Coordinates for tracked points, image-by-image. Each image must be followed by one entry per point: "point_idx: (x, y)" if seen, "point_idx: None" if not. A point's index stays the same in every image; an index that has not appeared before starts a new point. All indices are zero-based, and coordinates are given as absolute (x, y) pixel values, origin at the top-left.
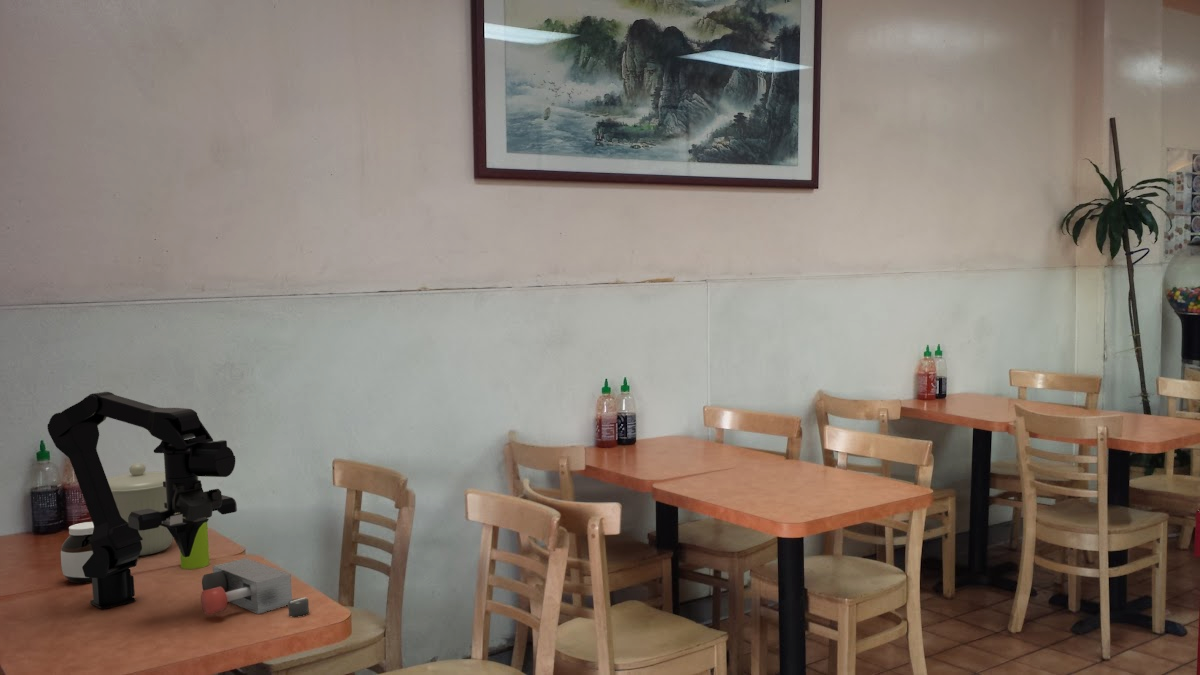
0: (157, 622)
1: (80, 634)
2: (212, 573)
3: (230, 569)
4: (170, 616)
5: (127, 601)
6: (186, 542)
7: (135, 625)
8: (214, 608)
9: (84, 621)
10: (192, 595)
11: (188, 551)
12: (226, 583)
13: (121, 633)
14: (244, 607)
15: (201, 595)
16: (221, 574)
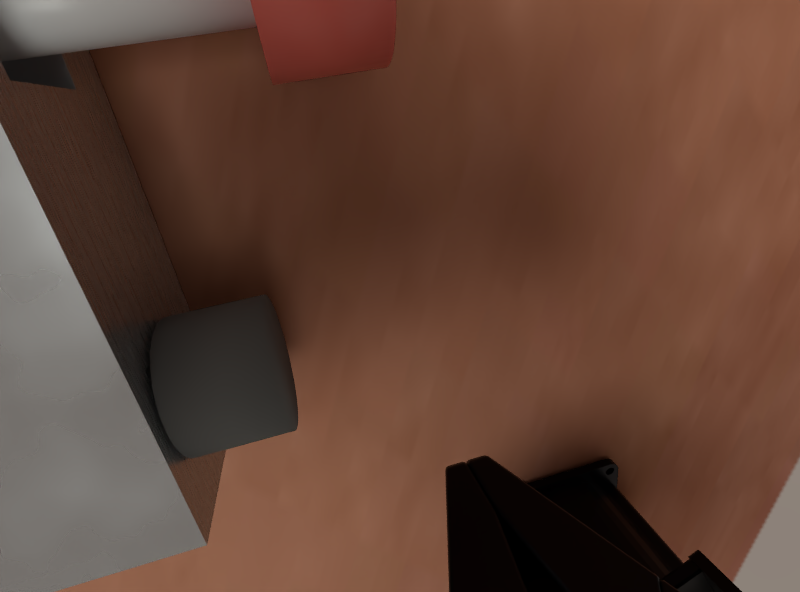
0: (537, 183)
1: (760, 235)
2: (234, 410)
3: (88, 409)
4: (470, 234)
5: (538, 485)
6: (568, 584)
7: (609, 207)
8: None
9: (688, 373)
10: (317, 467)
11: (477, 497)
12: (159, 325)
13: (683, 134)
14: (102, 88)
15: (391, 43)
16: (173, 383)
